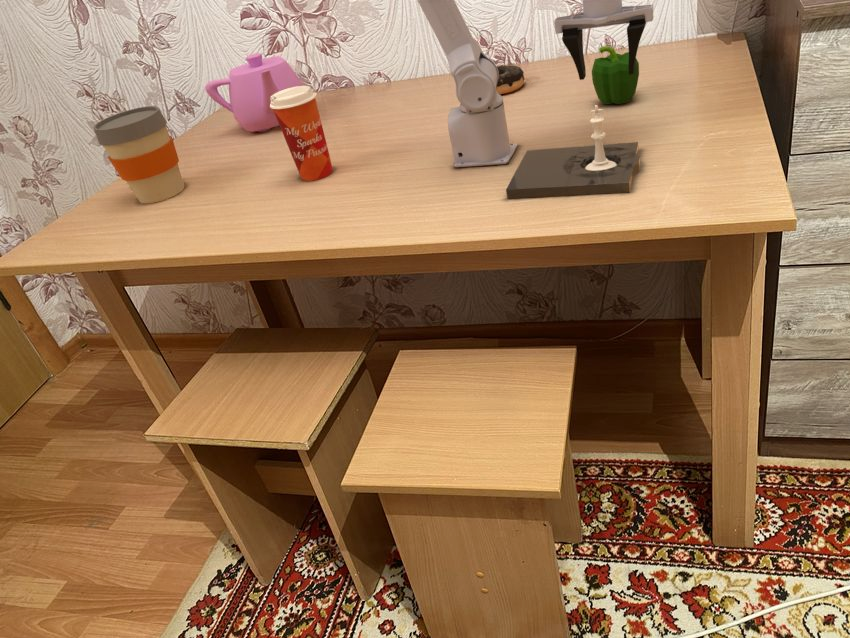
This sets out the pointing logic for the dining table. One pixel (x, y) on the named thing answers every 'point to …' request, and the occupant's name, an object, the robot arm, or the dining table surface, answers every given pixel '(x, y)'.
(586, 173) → the dark grey flat block
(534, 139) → the dining table surface
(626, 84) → the bell pepper
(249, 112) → the teapot
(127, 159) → the reusable coffee cup
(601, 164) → the chess piece
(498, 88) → the donut
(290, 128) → the coffee cup
